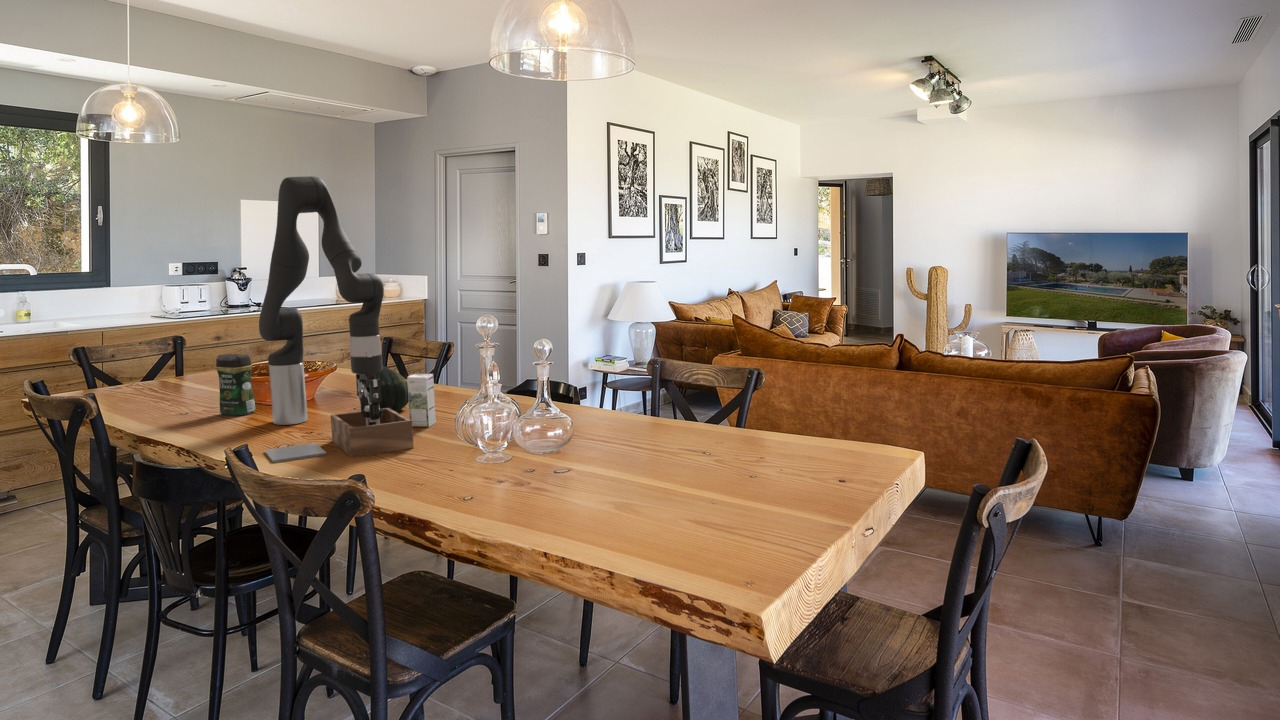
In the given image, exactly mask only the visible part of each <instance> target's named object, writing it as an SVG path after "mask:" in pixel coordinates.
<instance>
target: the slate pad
mask: <svg viewBox="0 0 1280 720" xmlns="http://www.w3.org/2000/svg"><path fill="white" fill-rule="evenodd" d="M264 453H265V455H266V456H267V457H268V458H269V460H270V461H271V462H272V464H274V463H275V464H276V463H281V462H288V461H293V460H294V461H296V460H302V459H303V460H304V459H307V458H308V459H309V458H314V457H323V456H327V452H326V450H324V449H323V448H322V447H321V446H320V445H319V444H317V442H313V443H306V444H305V443H304V444H298V445H289V446H284V447H276V448H270V449H264Z"/></svg>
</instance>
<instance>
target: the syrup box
mask: <svg viewBox="0 0 1280 720" xmlns="http://www.w3.org/2000/svg"><path fill="white" fill-rule="evenodd" d="M406 379H407V380H406V381H407V383H408V399H409V401H408V413H409V419H410V420H412V428H430V427H432V426H434V425H435V424H436V422H437V421H436V419H437V418H436V407H435V406H436V405H435V385H434V381H435V379H434V373H413V374H410V375H408V376H407V378H406Z"/></svg>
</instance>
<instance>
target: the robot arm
mask: <svg viewBox="0 0 1280 720" xmlns="http://www.w3.org/2000/svg"><path fill="white" fill-rule="evenodd" d="M277 198H278V201H277V213H276V215H277V218H276V229H275V235H274V242H273V248H272V252H271V259H270V264H269V272H268V274H269V275H268V279H267V286H266V292H265V294H264V295H265V296H264V299H263V302H262V306H261V310H260V313H259V314H260V315H259V320H258V331H259V335H260V337H261V338H262V339H263V340H264V341H268V342H276V341H286V343H285V344H284V345H283V346H282V347H281V348H279V349H278V350H276V351H274V352H272V353H269V355H268V356H267V360H268V361H267V363H268V375H269V384H270V386H269V387H270V399H271V400H270V401H271V413H272V423H273V424H274V425H279V426H280V425H281V426H285V425H287V426H288V425H289V426H290V425H296V424H297V425H298V424H301V423H305V422H307V421H308V408H307V406H308V405H307V393H306V380H305V379H306V378H305V366H304V325H303V322H304V321H303V317H302V314H301V311H300V310H299V309H298V308H297V307H282V306H283V305H284V303H285V301H286V299H288V297H290V296H291V294H293V292H294V291H296V290H297V288H298V287H299V286H300V285H301V284H302V283H303V281H304V280H305V278H306V275H307V271H308V268H309V262H310V253H309V250H308V248H307V245H306V243H305V241H304V240H303V239H302V237H301V235H300V233H299V231H298V227H297V225H298V224H297V220H298V217H299V215H300V214H308V213H312V214H313V213H317V214H318V215H319V217H320V218H321V219H322V223H323V229H322V235H321V248H322V251H323V253H324V255H325V257H326V259H327V261H328V262H329V264H330V265H331V267H332V269H333V272H334V276H335V279H336V280H335V281H336V284H337V288H338V289H337V291H338V293H339V295H340V296H341V298H342V299H344V300H345V301H346V302H347V303H352V304H354V303H362V305H361V309H359V310H358V311H355V312H353V313H350V314H349V316H348V324H349V326H348V327H349V353H350V355H349V357H350V368H351V369H350V370H351V373H352V374H355V380H356V396H357V397H358V399H359V402H360V403H359V404H360V411H362V410H364V409H365V406H368V405H369V411H370V419H371V420H376V419H379V418H380V415H379V404H380V403H381V402H382V397H381V385H380V379H376V376H375V373H376V372H381V371H382V370H383V366H384V364H383V353H382V351H383V350H382V341H381V337H380V325H379V324H380V322H379V317H380V312H381V309H382V303H383V300H384V299H383V298H384V293H385V291H384V290H385V289H384V283H383V281H382V279H381V278H380V277H379V276H378V275H377V274H375V273H356V272H358V271H359V270H360V268H361V267H362V259H361V257H360V255H359V253H358V252H357V250H356V248H355V247H354V245H353V244H352V242H351V240H350V238H349V237H348V235H347V233H346V230H345V229H344V227H343V223H342V221H341V218H340V215H339V213H338V210H337V207H336V205H335V202H334V200H333V197H332V194H331V192H330V190H329V188H328V186H327V183H325V181H324V180H323V179H322V178H321V177H318V176H288V177H284V179H283V180H282V181H281V183H280V185H279V189H278V197H277ZM373 397H375V398H374V399H373Z"/></svg>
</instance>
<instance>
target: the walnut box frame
mask: <svg viewBox="0 0 1280 720" xmlns="http://www.w3.org/2000/svg"><path fill="white" fill-rule="evenodd" d="M382 413H383V415H382V416H380V424H376V425H369V426H366V418H364V417H363V416H362V413H361V410H359V411H352V412H350V411H349V412H344V413H335V414H330V427H331V441H332V442H333V443H334V444H335V445H337V446H338V447H339V448H340V449H341V450H342V451H344V452H345V453H346V454H347V455H349V456H350V457H351V458H357V457H362V456H369V455H376V454H382V453H388V452H389V453H391V452H397V451H402V450H409V449H414V435H413V434H414V433H413V427H412V420H410V418H408V417H406V416H405V415H403V414H402V413H401V414H400V413H399V412H395V411H393V410H392V409H390V408H383V412H382Z"/></svg>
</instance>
